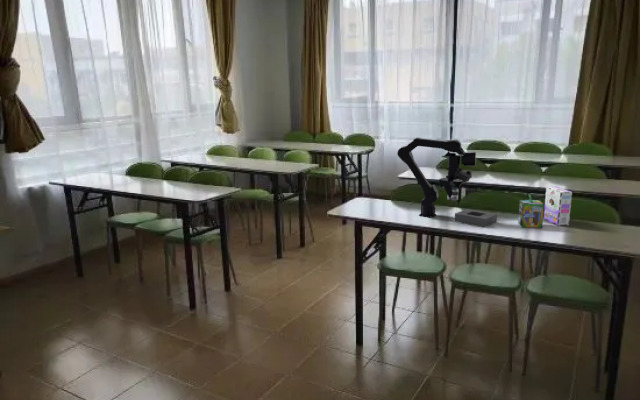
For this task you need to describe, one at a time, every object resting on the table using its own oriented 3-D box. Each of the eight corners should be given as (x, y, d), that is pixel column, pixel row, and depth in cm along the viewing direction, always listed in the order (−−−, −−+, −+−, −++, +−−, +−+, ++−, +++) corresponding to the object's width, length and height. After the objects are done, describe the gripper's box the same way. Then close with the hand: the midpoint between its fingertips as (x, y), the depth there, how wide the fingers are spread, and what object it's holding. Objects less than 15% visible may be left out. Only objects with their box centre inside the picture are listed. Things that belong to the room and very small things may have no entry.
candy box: (569, 225, 232) (573, 191, 228) (557, 226, 231) (560, 192, 228) (554, 218, 245) (557, 185, 241) (542, 218, 245) (545, 186, 241)
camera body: (454, 221, 242) (454, 213, 241) (466, 216, 250) (466, 209, 249) (485, 227, 231) (485, 219, 230) (496, 222, 239) (497, 214, 238)
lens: (444, 199, 247) (445, 187, 246) (450, 197, 251) (451, 186, 250) (454, 201, 243) (455, 189, 242) (460, 199, 247) (461, 187, 246)
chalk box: (542, 228, 228) (545, 197, 225) (521, 227, 230) (524, 196, 226) (537, 223, 237) (540, 193, 234) (517, 222, 238) (519, 192, 235)
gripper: (459, 169, 232) (457, 201, 235) (478, 164, 245) (476, 195, 248) (438, 167, 239) (437, 198, 243) (457, 162, 252) (456, 192, 256)
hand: (452, 196), depth 247 cm, fingers closed on lens, 6 cm apart
